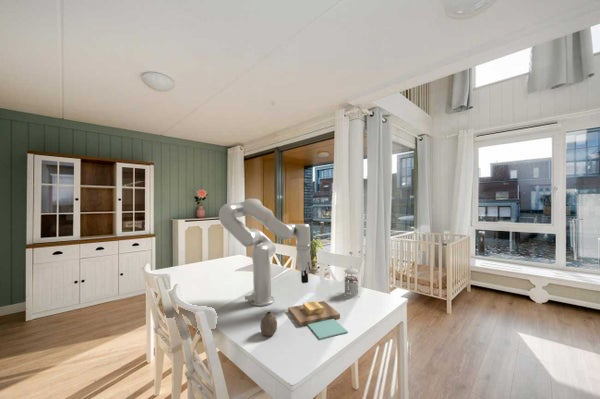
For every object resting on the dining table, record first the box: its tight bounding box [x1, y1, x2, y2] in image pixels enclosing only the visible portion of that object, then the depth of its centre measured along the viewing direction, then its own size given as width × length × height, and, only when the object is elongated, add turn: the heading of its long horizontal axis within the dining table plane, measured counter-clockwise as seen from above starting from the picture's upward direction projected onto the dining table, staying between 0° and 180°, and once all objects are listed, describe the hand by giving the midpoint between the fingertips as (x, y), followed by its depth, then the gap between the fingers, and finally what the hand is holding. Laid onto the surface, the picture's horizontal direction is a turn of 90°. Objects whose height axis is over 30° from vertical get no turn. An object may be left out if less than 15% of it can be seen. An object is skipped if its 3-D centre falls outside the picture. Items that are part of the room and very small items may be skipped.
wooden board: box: [287, 300, 341, 328], centre depth 119 cm, size 20×16×2 cm
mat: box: [307, 319, 349, 341], centre depth 106 cm, size 13×12×1 cm
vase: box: [259, 311, 278, 337], centre depth 102 cm, size 7×7×9 cm
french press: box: [342, 251, 361, 299], centre depth 144 cm, size 10×12×25 cm
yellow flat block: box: [302, 300, 324, 316], centre depth 119 cm, size 7×8×2 cm
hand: (304, 282), depth 130 cm, fingers closed
